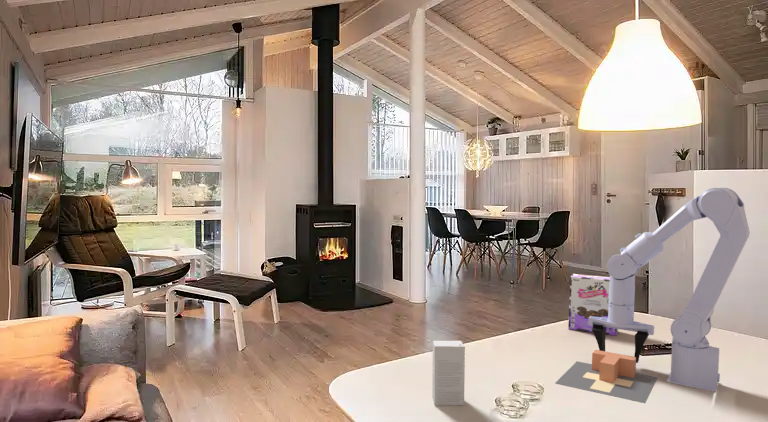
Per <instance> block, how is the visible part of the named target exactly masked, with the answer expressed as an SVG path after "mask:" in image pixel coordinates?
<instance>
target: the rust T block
mask: <svg viewBox="0 0 768 422" xmlns="http://www.w3.org/2000/svg"><path fill="white" fill-rule="evenodd" d="M591 357H592V358H591V364H592V370H596V371H600V373H599V380H603V381H608V382H612V383H614V381H615V380H616V379H617V377H618V376H619V375H622V376H627V377H632V378H633V377H634V376H635V374H636V373H637V371H636V369H637V363H636V357H634V355H628V354H627V355H626V354H621V353H615V352H610V351H606V350H605V351H600V350H599V349H595V350H594V351H593V352H592V355H591Z"/></svg>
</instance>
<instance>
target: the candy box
mask: <svg viewBox="0 0 768 422" xmlns="http://www.w3.org/2000/svg"><path fill="white" fill-rule="evenodd" d="M569 280H570V281H569V303H568V308H569V309H568V324H567V325H568V330H574V331H581V332H588V333H593V332H592V328H593V326H591V325H588V322H589V317H590V316H594V317H606V318H608V307H609V283H610V276H601V275H589V274H576V273H572V275H570V279H569ZM618 333H619V329H615V328H608V327H607V328H606V335H609V336H610V335H611V336H617V335H618Z"/></svg>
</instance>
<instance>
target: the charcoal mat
mask: <svg viewBox="0 0 768 422" xmlns="http://www.w3.org/2000/svg"><path fill="white" fill-rule="evenodd" d="M599 373H600V371H596V370H592V363H588V362H581V361H575V362H574V363H573V364H572V366H570V368H569V369H568V370H566V371H565V373H563V375H562V376H560V377H559V378H558V379H557V380H556V381H555V382H554V384H555V385H561V386H565V387H570V388H574V389H579V390H583V391H588V392H592V393H597V394H600V395H606V396H611V397H615V398H619V399H622V400H623V399H624V400H628V401H632V402H638V403H641V404H646V402H647V400H648V399H649V396H650V394H651V391H652V389H653V387H654V386H655V383H656V381H657V380H658V376H656V375H650V374H644V373H639V372H636V374H635V376H634V377H633V378H632V377H627V376H622V375H619V376H618V377H617V379H616V380H615V381H614V383H612V382H608V381H603V380H599Z"/></svg>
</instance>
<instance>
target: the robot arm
mask: <svg viewBox="0 0 768 422" xmlns="http://www.w3.org/2000/svg"><path fill="white" fill-rule="evenodd" d="M706 218H707V219H709V220H710V221H711V222H712V223H713V224H714V226H715V228H716V230H717V231H718V233H719V238H718V240H717V243H716V244H715V246H714V248H713V250H712V252H711V255H710V257H709V260H708V262H707V264H706V265H705V268H704V270H703V272H702V274H701V277H700V278H699V281H698V282H697V285H696V287H695V289H694V291H693V294H692V296H691V297H690V300H689V301H688V303H687V305H686V306H685V307H684V309H683V310H682V313H681V315H680V316H678V317H677V318H675V319H674V320H673V321H672V323H671V325H670V334H671V336H672V338H671V357H670V358H671V360H670V363H671V364H670V371H669V375H668V376H667V379H666V382H667V383H672V384H676V385H682V386H687V387H692V388H695V389H696V388H697V389H702V390H708V391H712V392H713V393H717V390H718V383H720V380H721V378H720V377H721V374H720V373H719V369H720V368H719V367H720V366H719V364H720V347H716V346H712V345H710V341H709V340H708V338H707V335H709V333H710V332H711V329H712V323H711V320H712V319H711V318H712V317H713V314H714V311H715V307H716V306H717V302H718V301H719V299H720V297H721V295H722V293H723V291H724V288H725V286H726V284H727V282H728V280H729V278H730V276H731V274H732V273H733V270H734V268H735V265H736V264H737V261H738V260H739V258H740V256H741V253H742V251H743V249H744V247H745V245H746V244H747V241H748V239H749V237H750V227H749V222H748V219H747V213H746V210H745V203H744V202H743V200H742V199H741V198H740V196H739V195H738V193H737V192H736V191H734V190H733V189H731V188H728V187H711V188H707V189H705V190H704V191H703V192H702V193H701V194H700V195H699V196H698V195H697V196H696V197H694V198H692V199H691V200H689V201H688V202H687V203H685V204H684V205H682V207H680V208H679V209H678V210H677V211H676V212H675V213H673V215H671V216H670V217H669V218H668V219H666V221H665V222H663V223H662V224H661V225H660V226H659V227H657V228H656V229H655V230H654V231H653V232H649V231H644V232H643V233H637V234H636V235H635V236H634V238H635V239H634V240H633V241H632V242H631V243H630V244H628V245H627V246H625V247H621V248H620V249H619V252H620V254H614V255H612V256H610V258H609V259H608V260H607V263H606V271H607V273H608V274H609V277H610V283H609V307H608V318H606V317H594V316H590V317H589V322H588V325H591V326H593V328H592V332H591V333H592V334H593V335H594V338H595V340H596V343H597V346H598V350H600V351H605V352H606V337H607V336H606V335H607V334H606V328H607V327H608V328H615V329H618V330H621V331H622V330H623V331H629V332H636V333H635V334H634V355H633V357H636V364H638V363H639V362H640V357H641V356H640V355H641V352H642V349H643V347H644V345H645V343H646V341H647V339H648V337H649V335H650V336H654V334H655V325H653V324H650V323H649V324H648V323H644V322H640V321H635V320H634V318H635V300H636V299H635V296H636V295H635V293H636V285H635V284H636V275H637V274H638V272H639V271H640V268H643V267H644V266H646V265H647V264H648V263H649V262H651V261H652V260H653V259H654V258H656V257H657V256H658V255H660V253H662V252H663V251H664V245H665V242H667V241H668V240H669V239H670V238H671V237H673V236H675V235H676V234H678V233H679V232H680V231H682V230H683V229H684V228H685V227H686V226H688V225H689V224H690V223H692V222H694V221H697V220H701V219H706Z"/></svg>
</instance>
